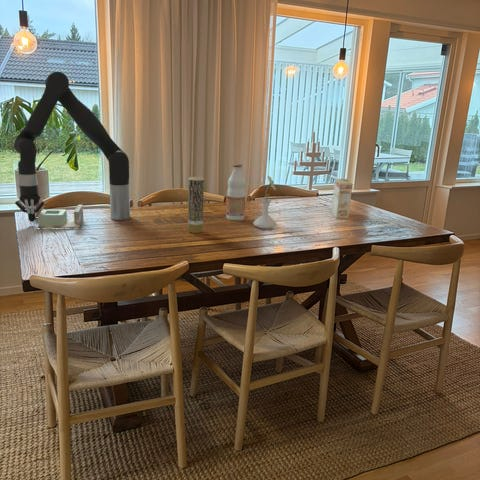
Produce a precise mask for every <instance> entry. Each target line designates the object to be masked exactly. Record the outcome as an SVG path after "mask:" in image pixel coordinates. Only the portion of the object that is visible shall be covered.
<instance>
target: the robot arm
mask: <svg viewBox="0 0 480 480" xmlns="http://www.w3.org/2000/svg"><path fill="white" fill-rule="evenodd" d="M44 83H45V85H44V86H45V89H44V90H43V91H44V92H43V94H42V95H41V98H40V99H39V101H38V103H37V104H36V106H35V108H34V110H33V111H32V112H31V114H30V116H29V118H28V120H27V121H26V123H25V126H24V127H23V129H21V131H20V132H19V134H18V135H17V137H16V138H15V140H14V143H13V148H14V150H15V151H16V152H17V153H18V154H19V161H18V163H17V168H18V169H17V170H18V184H19V185H18V186H19V194H20V195H19V199H18V200H16V201H15V202H14V204H15V205H16V207H18V208H19V209H20V210H21V211H22V212H23V213H26V214H27V217H28V219H27V220H28V221H29V222H30V223H31V222H34V223H35V221H36V219H37V218H36V212H38V211H39V210H40V209H41V208H42V206H43V205H44V206H45V203H46V201H45V200H44V199H42V198H41V196H40V195H39V183H38V175H37V169H36V168H37V167H36V160H37V145H36V143H35V140H37V138H38V137H40V136H41V135H42V134H43V131H44V130H45V128H46V125H47V124H48V121H49V120H50V117H51V115H52V112H53V110H54V109H55V106H56V105H57V104H58V103H60V104H61V106H62V107H63V108H64V109H65V110H66V112H67V113H68V115H69V116H70V118H71V119H72V120H73V121H74V123H75V124H76V125H77V126H78V128H79V129H80V130H81V131H82V133H83V134H84V135H85V136H86V137H87V138H88V139H89V140H90V141H91V142H92V143H93V144H94V145H96V147H98V149H100V151H101V152H102V153H103V154H102V155H104V157H105V158H106V159H107V161H108V172H109V173H108V174H109V175H108V176H109V179H108V180H109V182H108V183H109V201H110V202H109V204H110V219H112V220H117V221H125V220H130V219H131V204H130V203H131V201H130V161H129V157H128V155H127V154H126V152H125V151H124V150H123V149H122V148H120V147H119V146H118V144H116V142H114V140H113V139H112V138H111V136H110V135H109V133H108V131H107V129H106V128H105V127H104V125H103V124H102V122H101V121H100V120H99V119H98V117H97V116H96V115H95V113H94V112H93V111H92V110H91V109H90V108H89V107H88V106H86V104H84V103H83V102H81V100H79V99H78V98H77V96H76V95H75V94H74V92H73V91H72V90H71V89H70V80H69V78H68V76H67V75H66V74H65V73H63V72H61V71H56V70H55V71H53V72H50V73H49V74H48V76H47V77H46V78H45V81H44ZM41 199H42V200H41ZM38 202H39V204H40V205H39V207H38V208H37V209H36V210H35V207H36V204H37V203H38Z"/></svg>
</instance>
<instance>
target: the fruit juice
mask: <svg viewBox="0 0 480 480" xmlns="http://www.w3.org/2000/svg"><path fill="white" fill-rule="evenodd" d="M232 168H233V169H232V172H231V174H230V177H228V180H227V184H228V185H227V187H228V188H227V191H226V212H225V215H226V216H225V217H226V219H227V220H229V221H242V220H245V211H246V185H247V181H246V178H245V176H244V173H243V164H241V163H233V164H232Z"/></svg>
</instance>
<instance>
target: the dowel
mask: <svg viewBox="0 0 480 480" xmlns="http://www.w3.org/2000/svg"><path fill="white" fill-rule="evenodd" d="M40 199H41V200H43V199H42V198H40ZM39 205H40V204H39V202H38V203H37V204H36V207H35V210H36V209H37V208H38V207H39ZM43 209H45V204H44V205H43V206H42V208H41V209H40V210H39V211H38V212H36V213H35V216H36V217H38V214H39V213H40V212H41V211H42V210H43Z"/></svg>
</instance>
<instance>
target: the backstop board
mask: <svg viewBox="0 0 480 480" xmlns="http://www.w3.org/2000/svg"><path fill="white" fill-rule="evenodd" d="M83 205H84V204H77V206H76V208H75V209H74V211H73V218H67V221H66V222H65V224H64V225H63V226H39V224H38V225H37V226H36V229H37V228H78V229H77V230H80V229H81V227H82V226H83V223H84V206H83Z"/></svg>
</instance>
